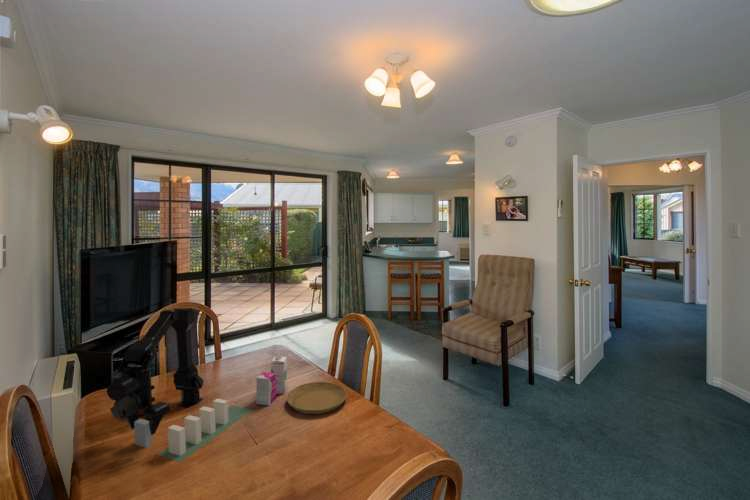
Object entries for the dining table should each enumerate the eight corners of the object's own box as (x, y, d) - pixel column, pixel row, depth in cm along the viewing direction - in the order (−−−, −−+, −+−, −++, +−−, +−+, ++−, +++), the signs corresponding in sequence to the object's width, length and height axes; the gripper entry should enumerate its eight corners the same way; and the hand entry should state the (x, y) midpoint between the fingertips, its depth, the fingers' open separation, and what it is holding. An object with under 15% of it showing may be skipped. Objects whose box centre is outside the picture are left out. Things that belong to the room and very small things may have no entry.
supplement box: (269, 406, 138) (268, 378, 137) (256, 405, 139) (255, 377, 138) (276, 399, 144) (275, 372, 143) (263, 398, 145) (262, 371, 144)
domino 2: (185, 441, 115) (184, 418, 115) (190, 437, 117) (189, 415, 117) (196, 444, 114) (195, 421, 113) (201, 441, 115) (200, 417, 115)
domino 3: (200, 431, 121) (199, 409, 120) (204, 428, 123) (203, 406, 122) (211, 434, 119) (210, 411, 119) (215, 431, 121) (214, 409, 120)
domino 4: (213, 422, 127) (212, 401, 126) (217, 419, 128) (217, 398, 128) (224, 424, 125) (223, 403, 124) (228, 422, 127) (227, 400, 126)
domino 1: (168, 452, 110) (167, 427, 109) (174, 448, 112) (173, 424, 111) (180, 455, 108) (179, 431, 107) (186, 452, 110) (185, 427, 109)
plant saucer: (335, 384, 158) (335, 377, 158) (355, 409, 136) (355, 401, 136) (281, 395, 148) (281, 388, 148) (294, 424, 126) (294, 415, 126)
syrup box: (273, 388, 154) (273, 356, 153) (287, 387, 154) (286, 356, 153) (271, 394, 148) (270, 361, 147) (285, 394, 148) (284, 361, 147)
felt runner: (157, 455, 109) (157, 454, 109) (232, 405, 139) (232, 405, 139) (180, 462, 105) (180, 461, 105) (252, 410, 135) (252, 409, 135)
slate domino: (135, 445, 114) (134, 421, 113) (141, 441, 116) (140, 418, 115) (145, 448, 112) (144, 424, 111) (151, 445, 114) (150, 421, 113)
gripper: (94, 391, 108) (97, 439, 109) (135, 402, 102) (138, 452, 103) (130, 376, 119) (132, 420, 120) (170, 385, 112) (172, 432, 113)
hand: (143, 431), depth 114 cm, fingers open, 9 cm apart
